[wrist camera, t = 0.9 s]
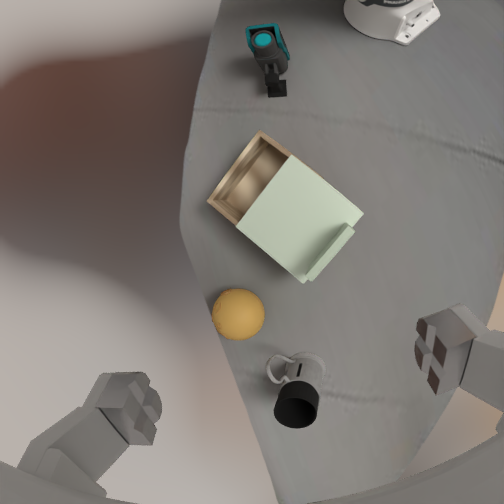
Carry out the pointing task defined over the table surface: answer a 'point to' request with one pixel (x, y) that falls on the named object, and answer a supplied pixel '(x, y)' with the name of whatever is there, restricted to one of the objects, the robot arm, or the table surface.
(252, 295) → the stress ball
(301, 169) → the lid
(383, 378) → the table surface
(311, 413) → the glass holder
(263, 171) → the wooden box
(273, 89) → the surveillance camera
